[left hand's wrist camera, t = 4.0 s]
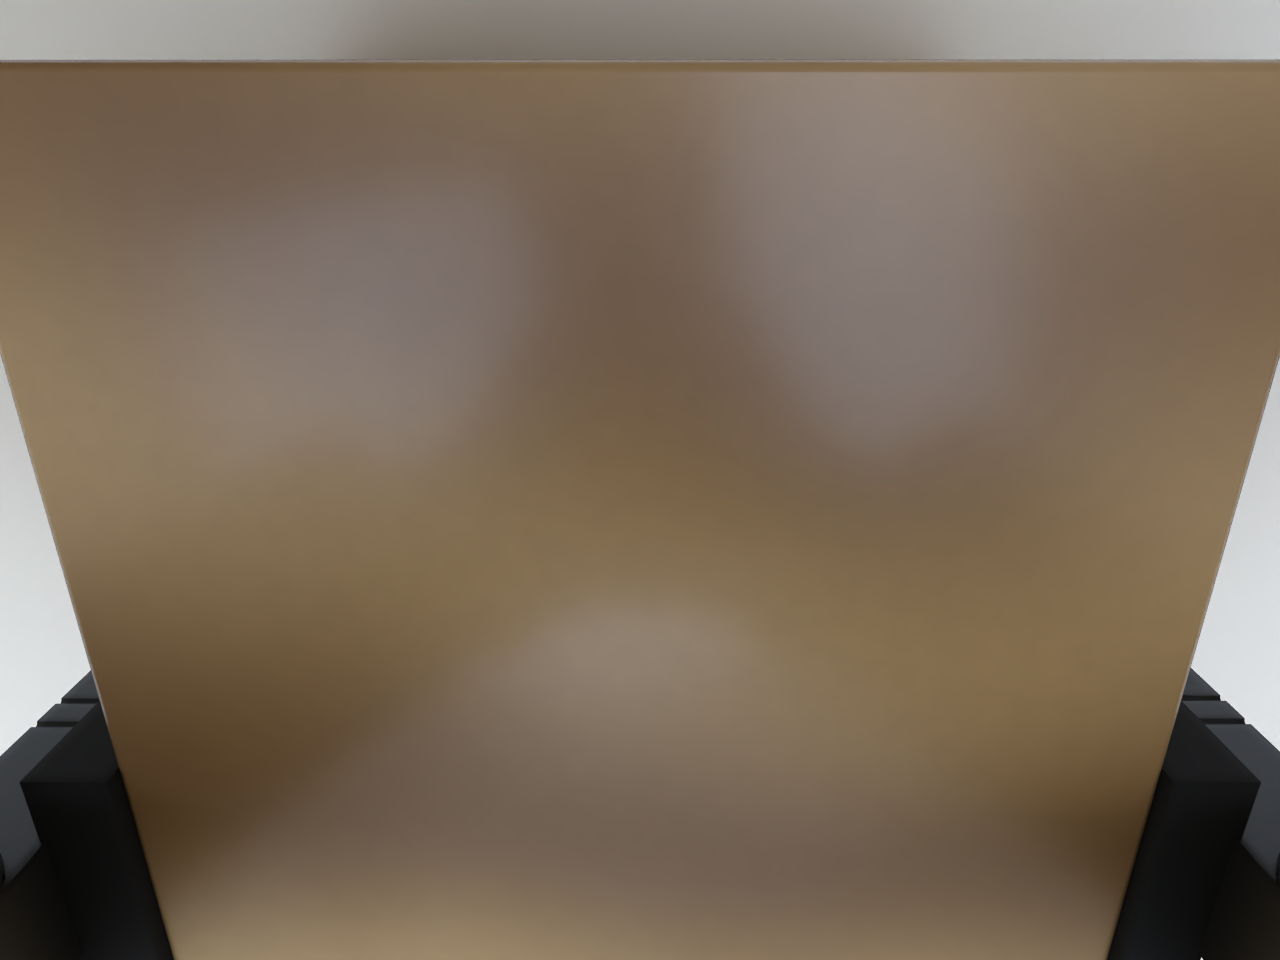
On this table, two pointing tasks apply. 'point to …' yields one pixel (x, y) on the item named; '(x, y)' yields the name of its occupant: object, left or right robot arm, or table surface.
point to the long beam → (640, 485)
